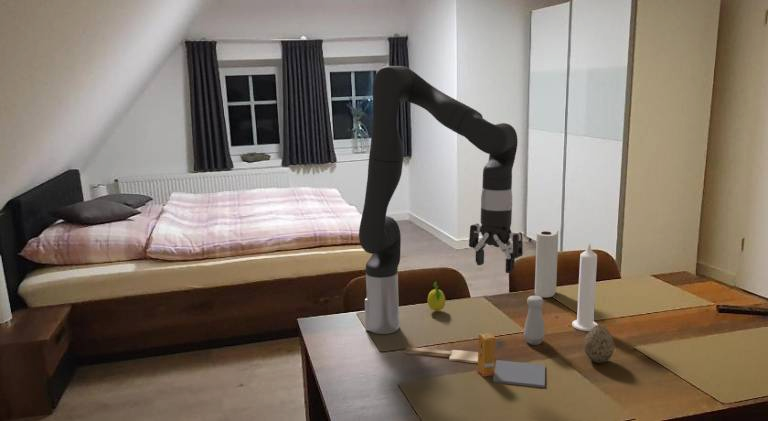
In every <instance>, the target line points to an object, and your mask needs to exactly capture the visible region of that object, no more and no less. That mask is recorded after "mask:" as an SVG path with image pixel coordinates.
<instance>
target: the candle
mask: <svg viewBox="0 0 768 421" xmlns="http://www.w3.org/2000/svg"><path fill="white" fill-rule="evenodd" d="M579 257H580V258H579V272H578V274H579V276H578V291H577V292H578V294H577V312H576V313H577V315H576V316H577V317H576V319H575V320H573V321H572V323H571V326H572V328H574V329H576V330H577V331H581V332H589V331H590V330H591V329H592V328H593V327H594V326H596V325H599V324H598V323H597V322H595V321H594V319H595V318H594V317H595V302H596V301H595V300H596V285H597V284H596V281H597V270H598V269H597V267H598V266H597V265H598V255H597V254H596V252H594V251H593V249H592V245H591V243H588V244H587V247H586V249H585V251H583V252H581V253H580V256H579Z"/></svg>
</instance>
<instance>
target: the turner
mask: <svg viewBox="0 0 768 421" xmlns="http://www.w3.org/2000/svg"><path fill="white" fill-rule="evenodd" d="M405 354H413V355H422V356H423V355H425V356H432V357H433V356H434V357H442V358H443V357H444V358H448V361H452V362H460V363H461V362H462V363H471V364H478V351H471V350H460V349H451V350H441V349H431V348H423V347H414V346H413V347H411V346H406V348H405Z"/></svg>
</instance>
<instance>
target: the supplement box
mask: <svg viewBox="0 0 768 421" xmlns="http://www.w3.org/2000/svg"><path fill="white" fill-rule="evenodd" d="M477 347H478V351H477V352H478V363H477V372H478V373H479V374H480V375H481V376H482V377H483V378H484V377H485V378H486V377H490V376H494V371H495V357H496V355H495V354H496V337H495V336H494V335H493V334H491V333H490V332H485V333H479V334H478V346H477Z"/></svg>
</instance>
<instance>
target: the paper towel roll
mask: <svg viewBox="0 0 768 421" xmlns="http://www.w3.org/2000/svg"><path fill="white" fill-rule="evenodd" d="M535 244H536V245H535V270H534V271H535V272H534V274H535V275H534V276H535V277H534V296H540V297H541V298H551V297H553V296H555V293H556V292H557V278H558V277H557V276H558V254H559V251H558V250H559V230H558V231H557V232H554V231H552V230H551V231H549V230H540V231H537V232H536V242H535Z"/></svg>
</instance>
